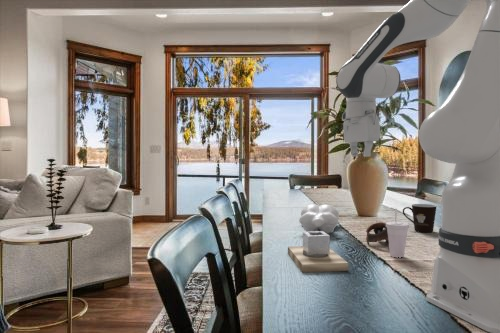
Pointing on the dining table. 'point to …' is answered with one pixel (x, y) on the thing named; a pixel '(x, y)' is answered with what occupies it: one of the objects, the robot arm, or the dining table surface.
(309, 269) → the post block
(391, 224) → the smoothie
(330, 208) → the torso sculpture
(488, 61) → the robot arm
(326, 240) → the grey hollow square block
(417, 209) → the coffee mug
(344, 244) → the dining table surface
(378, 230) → the brown hollow curved piece
